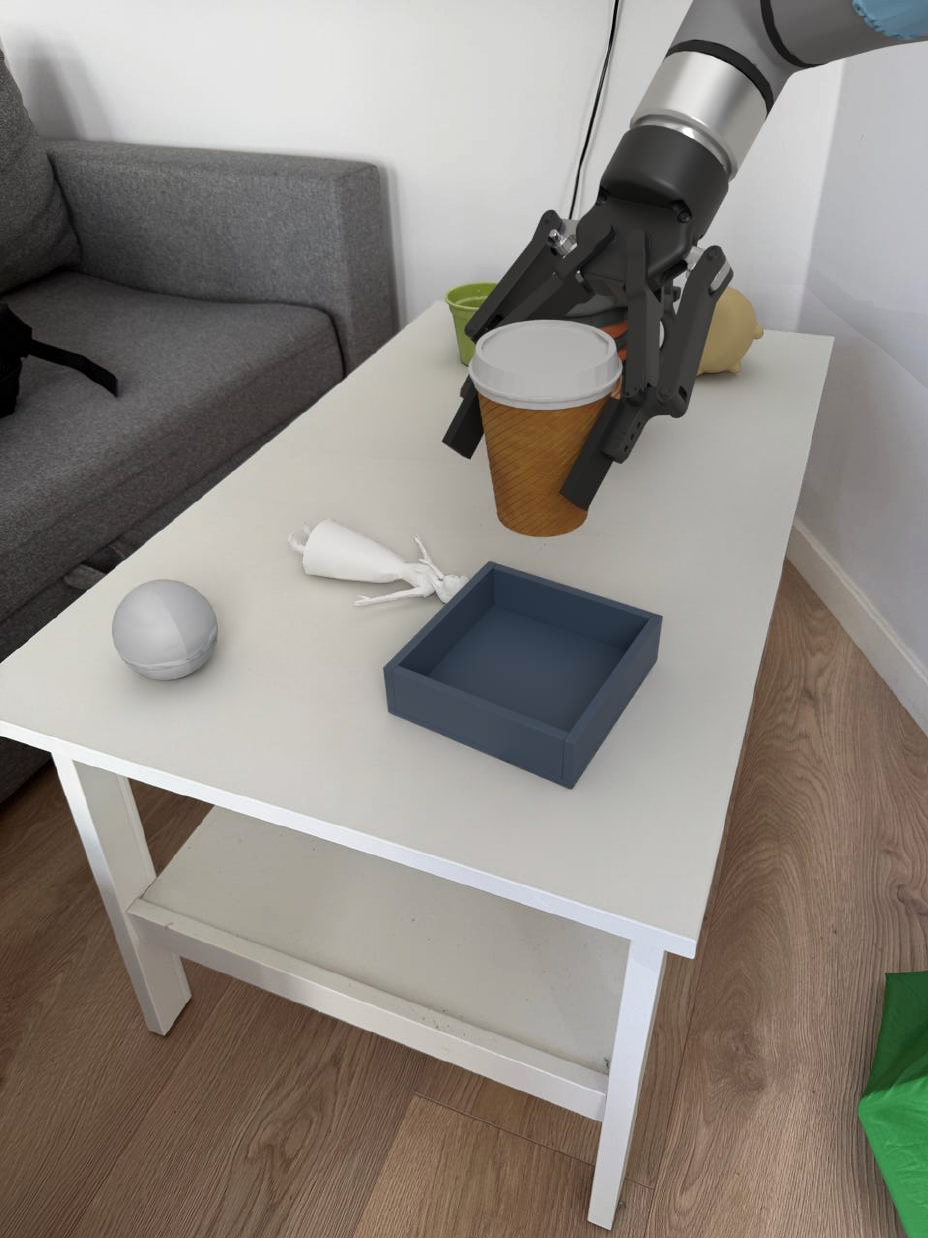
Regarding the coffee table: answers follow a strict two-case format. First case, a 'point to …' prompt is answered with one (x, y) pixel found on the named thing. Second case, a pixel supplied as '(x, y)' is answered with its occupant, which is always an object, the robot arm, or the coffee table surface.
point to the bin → (525, 670)
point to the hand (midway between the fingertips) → (511, 475)
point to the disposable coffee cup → (540, 415)
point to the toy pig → (729, 333)
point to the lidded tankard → (622, 323)
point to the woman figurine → (370, 563)
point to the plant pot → (467, 312)
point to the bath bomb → (164, 629)
